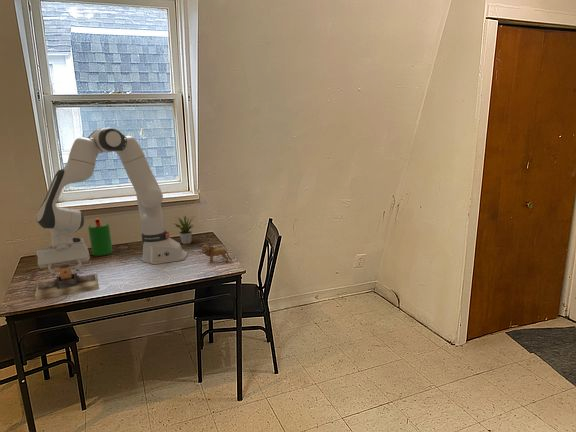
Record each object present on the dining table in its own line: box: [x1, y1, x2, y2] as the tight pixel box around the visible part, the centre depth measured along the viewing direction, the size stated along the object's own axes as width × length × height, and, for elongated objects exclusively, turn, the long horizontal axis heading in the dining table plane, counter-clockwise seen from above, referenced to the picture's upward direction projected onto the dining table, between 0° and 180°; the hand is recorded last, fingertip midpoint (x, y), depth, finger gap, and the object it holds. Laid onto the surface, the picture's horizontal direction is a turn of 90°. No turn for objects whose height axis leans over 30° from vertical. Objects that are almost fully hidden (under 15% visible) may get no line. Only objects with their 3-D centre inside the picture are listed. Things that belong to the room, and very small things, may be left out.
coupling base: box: [34, 272, 100, 301], centre depth 185 cm, size 24×14×5 cm, turn 116°
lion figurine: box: [201, 244, 233, 263], centre depth 212 cm, size 15×5×9 cm, turn 95°
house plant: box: [172, 214, 196, 245], centre depth 245 cm, size 14×14×16 cm
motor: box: [87, 217, 113, 257], centre depth 229 cm, size 10×9×20 cm
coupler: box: [59, 264, 73, 281], centre depth 184 cm, size 4×4×8 cm
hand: (65, 272), depth 183 cm, fingers open, 8 cm apart
